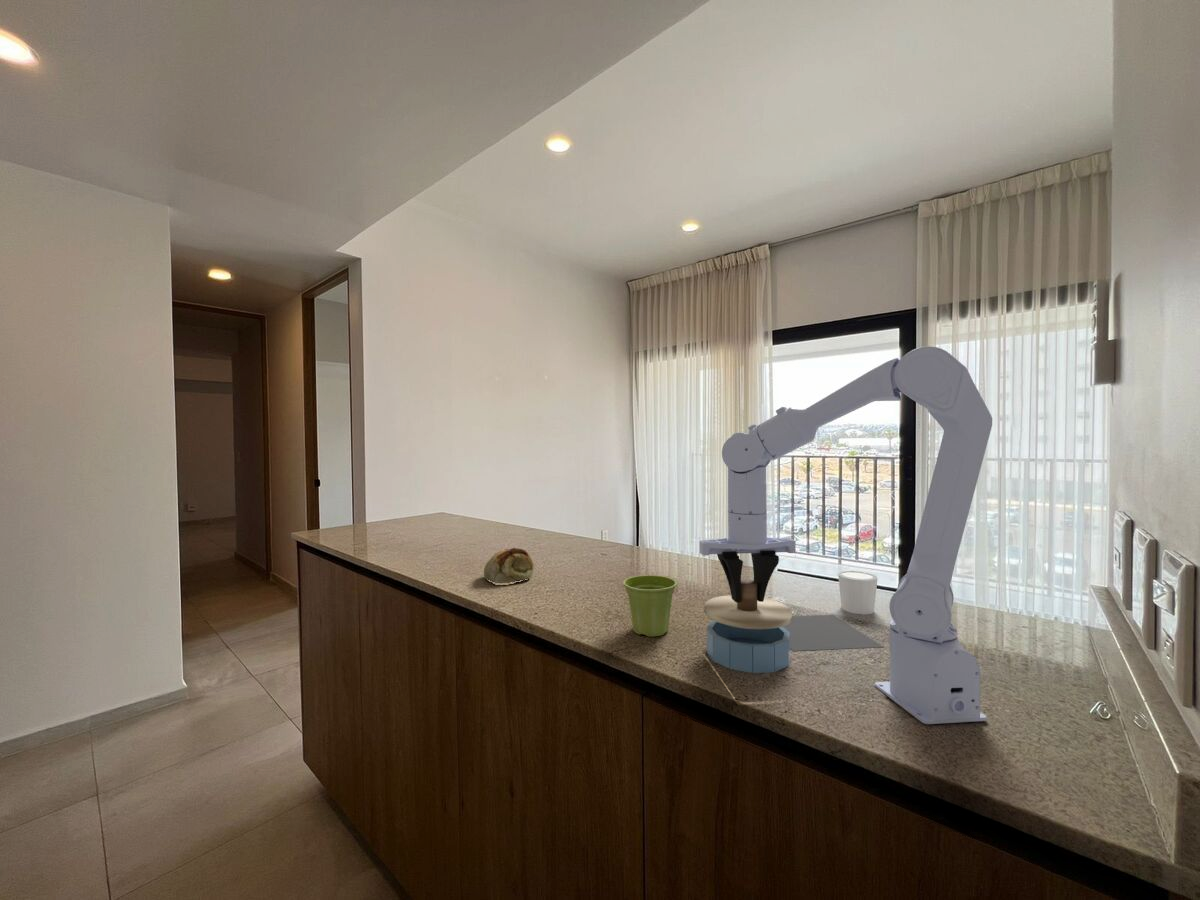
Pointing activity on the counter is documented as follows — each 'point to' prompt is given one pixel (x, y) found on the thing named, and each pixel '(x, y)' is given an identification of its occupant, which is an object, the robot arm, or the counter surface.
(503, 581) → the pastry
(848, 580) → the white cup
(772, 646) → the bowl
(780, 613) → the lid
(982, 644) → the counter surface
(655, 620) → the plant pot
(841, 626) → the mat
